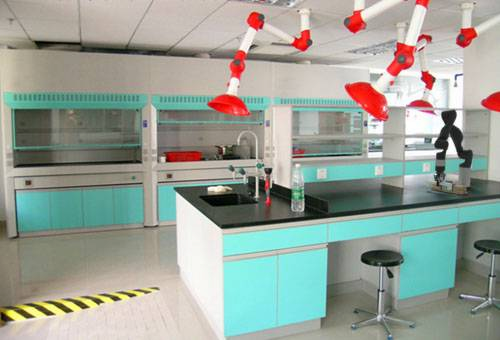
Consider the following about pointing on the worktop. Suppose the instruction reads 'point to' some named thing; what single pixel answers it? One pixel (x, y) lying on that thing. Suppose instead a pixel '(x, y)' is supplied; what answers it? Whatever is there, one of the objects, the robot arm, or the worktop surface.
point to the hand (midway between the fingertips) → (439, 186)
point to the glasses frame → (449, 185)
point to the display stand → (455, 188)
